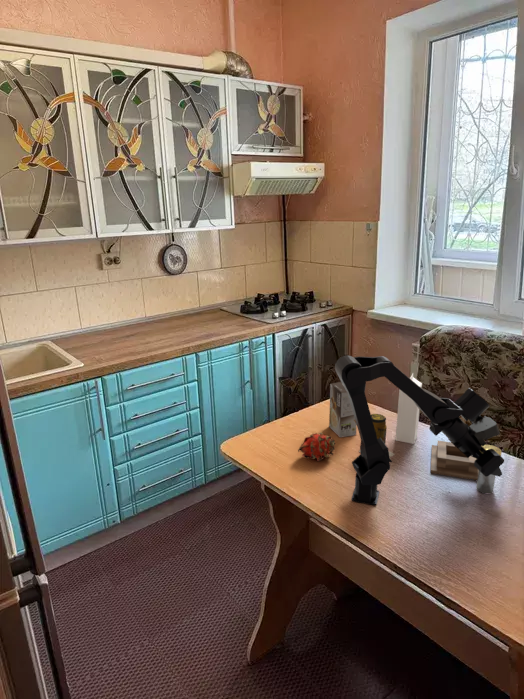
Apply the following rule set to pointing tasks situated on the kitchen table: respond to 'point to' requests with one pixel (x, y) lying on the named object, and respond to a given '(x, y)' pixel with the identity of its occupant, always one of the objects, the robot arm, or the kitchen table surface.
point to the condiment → (380, 428)
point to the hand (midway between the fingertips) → (492, 467)
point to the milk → (407, 417)
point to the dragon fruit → (317, 446)
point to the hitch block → (452, 462)
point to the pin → (487, 482)
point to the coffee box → (341, 411)
